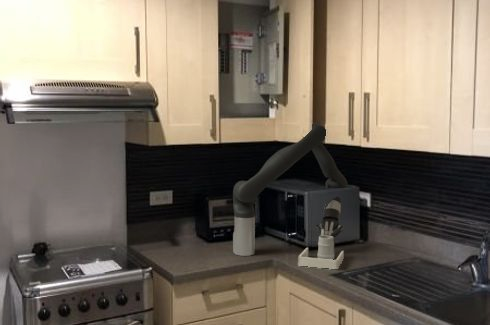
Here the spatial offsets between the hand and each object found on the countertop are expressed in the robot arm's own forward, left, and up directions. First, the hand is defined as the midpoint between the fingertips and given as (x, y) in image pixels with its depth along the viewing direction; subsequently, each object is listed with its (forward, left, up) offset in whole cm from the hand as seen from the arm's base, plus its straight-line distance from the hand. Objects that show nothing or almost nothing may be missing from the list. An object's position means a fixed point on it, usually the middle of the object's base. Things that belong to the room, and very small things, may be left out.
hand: (327, 243), depth 244 cm
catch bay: (+7, -12, -5) cm, 15 cm away
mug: (+2, -4, -5) cm, 7 cm away
